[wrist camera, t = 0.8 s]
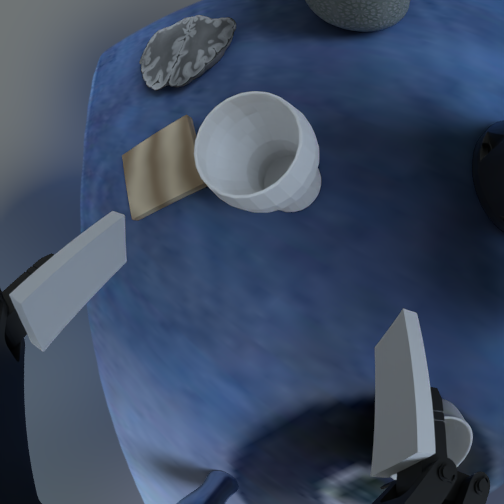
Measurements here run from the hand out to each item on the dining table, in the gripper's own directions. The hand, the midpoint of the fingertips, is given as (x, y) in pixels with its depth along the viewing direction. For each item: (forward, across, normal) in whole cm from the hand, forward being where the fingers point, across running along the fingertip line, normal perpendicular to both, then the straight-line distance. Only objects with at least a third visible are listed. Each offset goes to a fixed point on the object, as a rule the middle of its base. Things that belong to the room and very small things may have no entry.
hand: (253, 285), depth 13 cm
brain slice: (+41, -25, +9) cm, 48 cm away
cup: (+26, -1, -4) cm, 26 cm away
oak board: (+29, -21, -9) cm, 37 cm away
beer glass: (+1, +5, -48) cm, 48 cm away
